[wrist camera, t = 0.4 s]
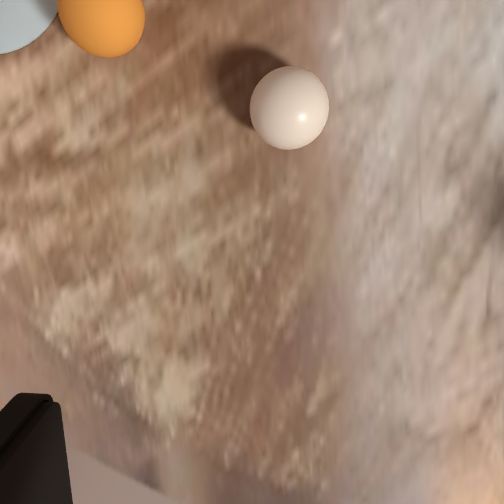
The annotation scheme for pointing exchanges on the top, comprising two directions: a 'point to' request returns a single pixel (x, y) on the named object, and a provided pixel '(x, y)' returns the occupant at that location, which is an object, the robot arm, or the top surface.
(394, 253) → the top surface
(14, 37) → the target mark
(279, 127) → the cue ball
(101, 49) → the orange ball
